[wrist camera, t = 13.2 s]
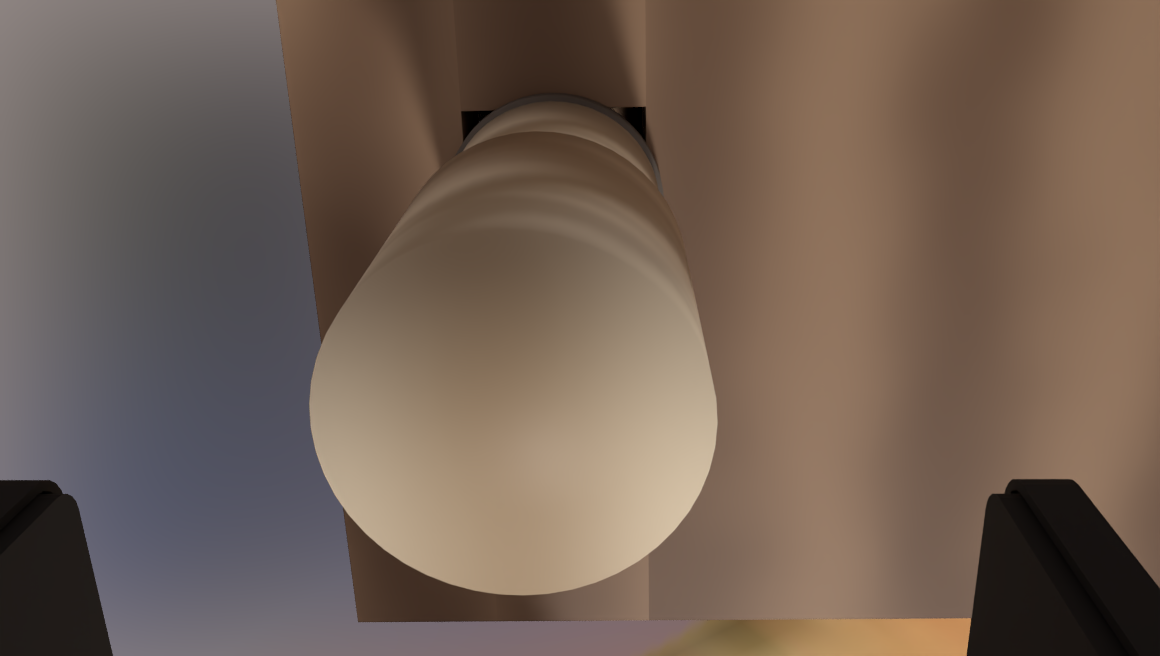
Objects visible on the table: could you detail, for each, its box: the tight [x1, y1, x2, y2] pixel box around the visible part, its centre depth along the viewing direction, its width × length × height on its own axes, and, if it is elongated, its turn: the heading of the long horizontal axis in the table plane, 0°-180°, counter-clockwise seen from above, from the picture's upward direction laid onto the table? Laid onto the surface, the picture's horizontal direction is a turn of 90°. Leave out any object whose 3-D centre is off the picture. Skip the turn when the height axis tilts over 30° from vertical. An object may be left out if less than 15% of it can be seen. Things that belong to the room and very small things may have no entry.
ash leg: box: [309, 93, 718, 595], centre depth 20 cm, size 5×5×14 cm
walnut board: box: [276, 0, 1160, 622], centre depth 27 cm, size 24×18×3 cm
